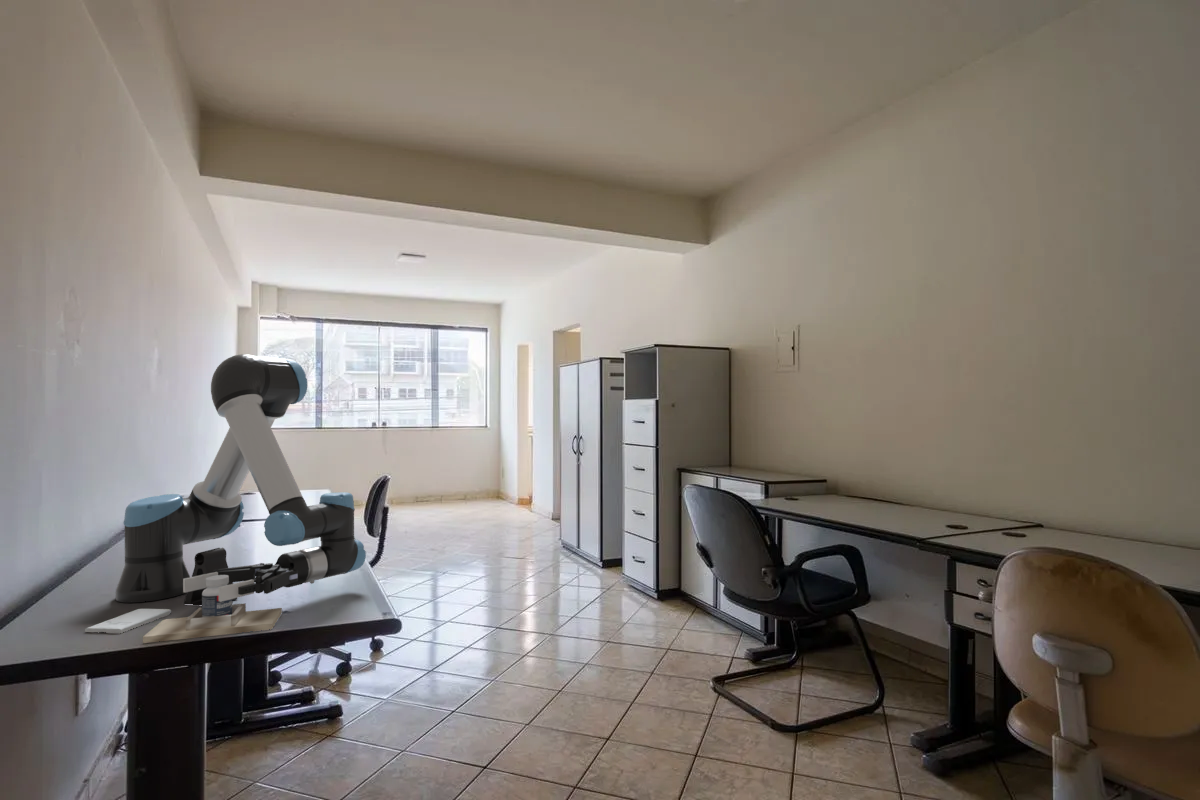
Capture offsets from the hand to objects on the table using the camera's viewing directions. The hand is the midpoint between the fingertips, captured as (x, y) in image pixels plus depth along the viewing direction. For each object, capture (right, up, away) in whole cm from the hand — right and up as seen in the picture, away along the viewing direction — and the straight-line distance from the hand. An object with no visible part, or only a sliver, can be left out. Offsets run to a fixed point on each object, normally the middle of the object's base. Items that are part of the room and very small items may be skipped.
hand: (201, 590), depth 127 cm
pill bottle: (+2, -7, +2) cm, 8 cm away
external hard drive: (-19, -10, +7) cm, 22 cm away
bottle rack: (+2, -8, +2) cm, 9 cm away
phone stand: (-11, -9, +21) cm, 25 cm away
